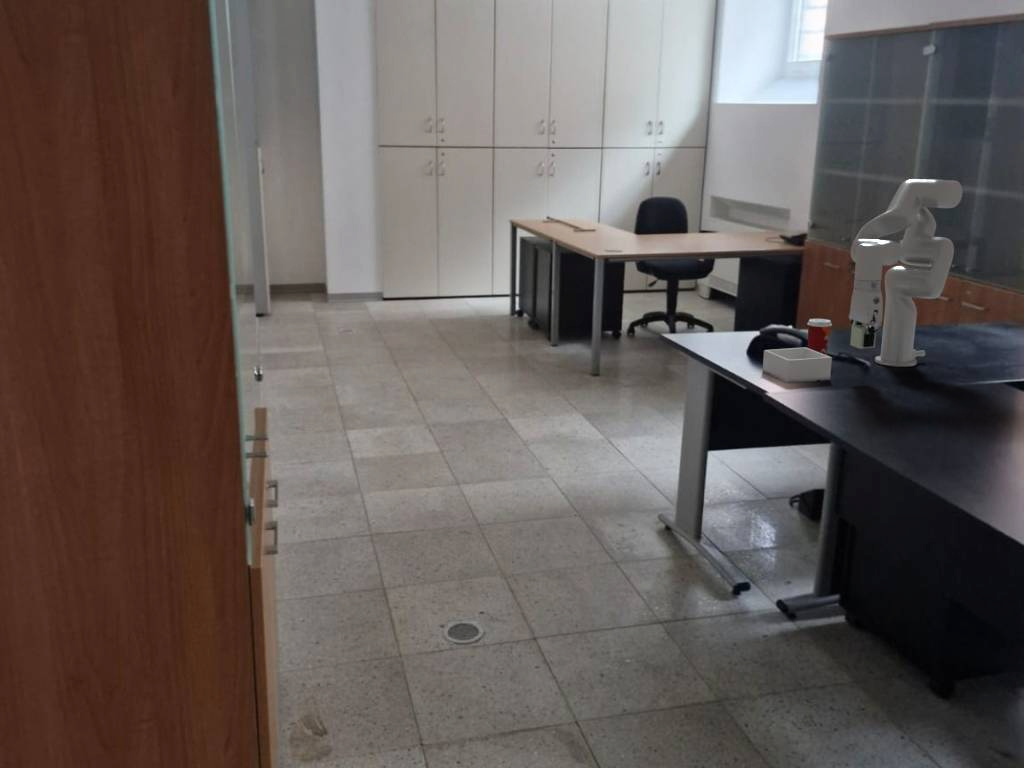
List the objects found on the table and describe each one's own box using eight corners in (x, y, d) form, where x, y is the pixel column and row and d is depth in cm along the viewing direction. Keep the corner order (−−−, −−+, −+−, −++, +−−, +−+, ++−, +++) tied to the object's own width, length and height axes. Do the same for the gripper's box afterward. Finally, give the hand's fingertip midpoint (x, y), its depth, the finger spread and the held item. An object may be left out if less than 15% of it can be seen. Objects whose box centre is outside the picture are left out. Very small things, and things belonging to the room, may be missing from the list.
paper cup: (830, 365, 292) (833, 323, 288) (805, 364, 293) (808, 322, 290) (827, 359, 299) (830, 318, 295) (803, 359, 301) (806, 317, 297)
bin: (803, 368, 288) (805, 347, 286) (830, 379, 274) (831, 357, 272) (762, 371, 285) (764, 350, 283) (786, 383, 271) (788, 360, 269)
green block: (864, 343, 275) (866, 324, 274) (874, 347, 271) (876, 327, 269) (850, 345, 274) (851, 325, 273) (860, 348, 270) (861, 329, 268)
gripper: (896, 288, 260) (891, 349, 265) (861, 279, 276) (856, 337, 281) (873, 290, 258) (868, 352, 263) (839, 281, 274) (835, 339, 279)
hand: (862, 343), depth 272 cm, fingers closed on green block, 5 cm apart
